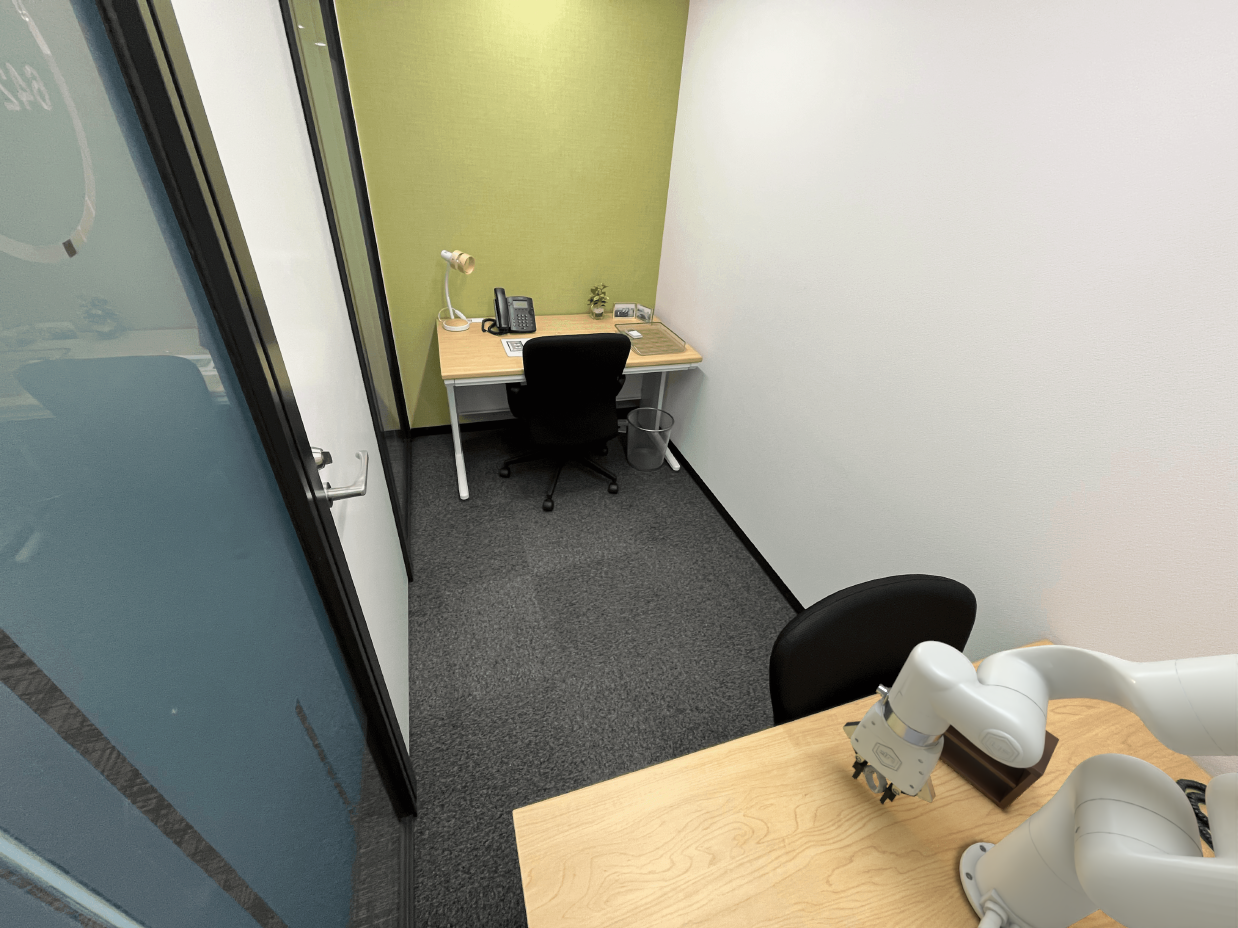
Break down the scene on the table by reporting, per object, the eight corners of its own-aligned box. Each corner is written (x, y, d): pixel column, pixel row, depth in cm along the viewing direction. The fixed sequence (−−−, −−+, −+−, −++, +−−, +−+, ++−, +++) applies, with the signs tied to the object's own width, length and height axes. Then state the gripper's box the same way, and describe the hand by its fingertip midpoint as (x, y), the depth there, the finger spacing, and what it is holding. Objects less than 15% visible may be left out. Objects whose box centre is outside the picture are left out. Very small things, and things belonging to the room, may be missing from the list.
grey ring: (884, 797, 77) (893, 783, 75) (871, 799, 77) (880, 785, 75) (871, 773, 80) (879, 759, 78) (859, 774, 80) (866, 761, 78)
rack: (1003, 810, 79) (1043, 774, 73) (915, 738, 88) (944, 701, 82) (1020, 774, 85) (1059, 739, 78) (936, 710, 93) (965, 673, 87)
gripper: (844, 687, 72) (812, 756, 82) (967, 784, 61) (914, 850, 71) (869, 661, 77) (836, 729, 86) (988, 748, 66) (935, 815, 75)
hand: (871, 783), depth 78 cm, fingers closed on grey ring, 3 cm apart
